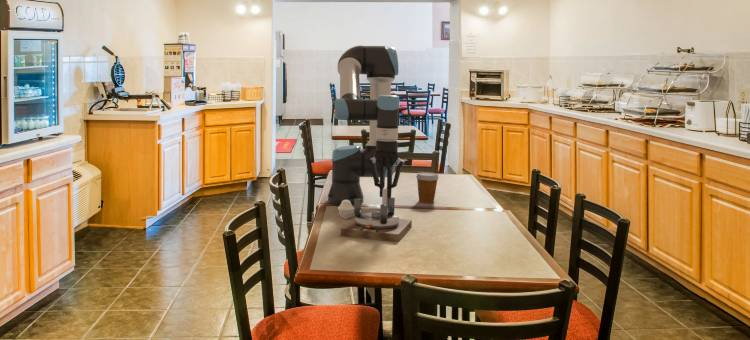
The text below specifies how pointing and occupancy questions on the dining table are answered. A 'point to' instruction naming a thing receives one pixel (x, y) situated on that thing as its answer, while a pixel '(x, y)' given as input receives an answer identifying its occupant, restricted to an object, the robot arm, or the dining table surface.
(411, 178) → the dining table surface
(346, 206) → the muffin
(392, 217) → the capstan
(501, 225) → the dining table surface
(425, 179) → the disposable coffee cup
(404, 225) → the stand
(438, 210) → the dining table surface
